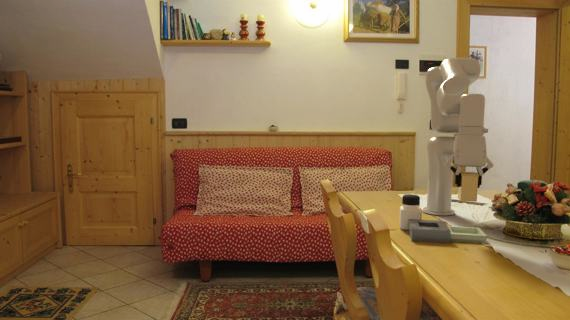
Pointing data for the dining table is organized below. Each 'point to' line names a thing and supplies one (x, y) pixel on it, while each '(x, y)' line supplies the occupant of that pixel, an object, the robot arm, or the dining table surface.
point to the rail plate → (429, 231)
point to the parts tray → (467, 234)
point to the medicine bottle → (409, 210)
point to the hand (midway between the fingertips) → (467, 186)
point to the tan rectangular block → (468, 186)
